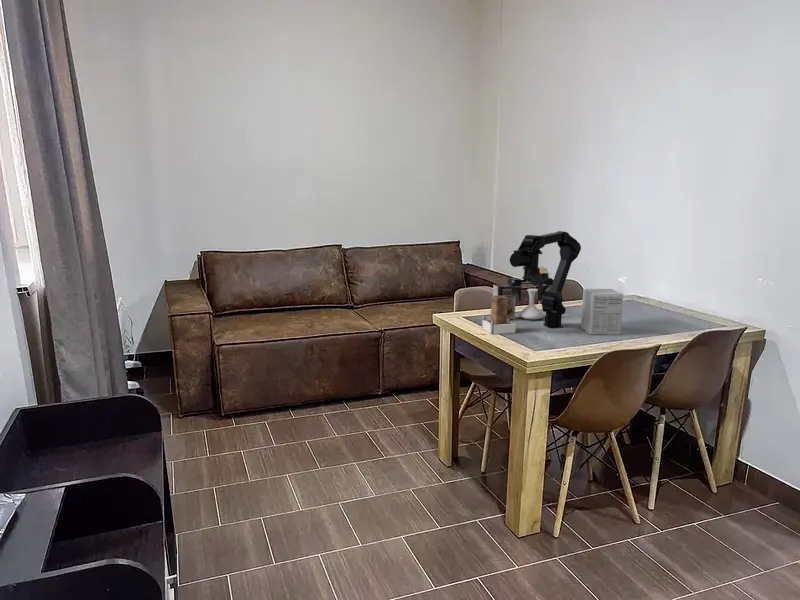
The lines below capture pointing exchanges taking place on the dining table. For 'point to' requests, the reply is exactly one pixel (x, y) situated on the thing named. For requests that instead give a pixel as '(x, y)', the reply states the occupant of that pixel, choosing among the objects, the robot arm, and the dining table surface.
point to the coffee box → (510, 294)
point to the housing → (497, 326)
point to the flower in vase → (531, 309)
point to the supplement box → (602, 311)
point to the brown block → (499, 309)
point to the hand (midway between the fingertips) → (529, 301)
